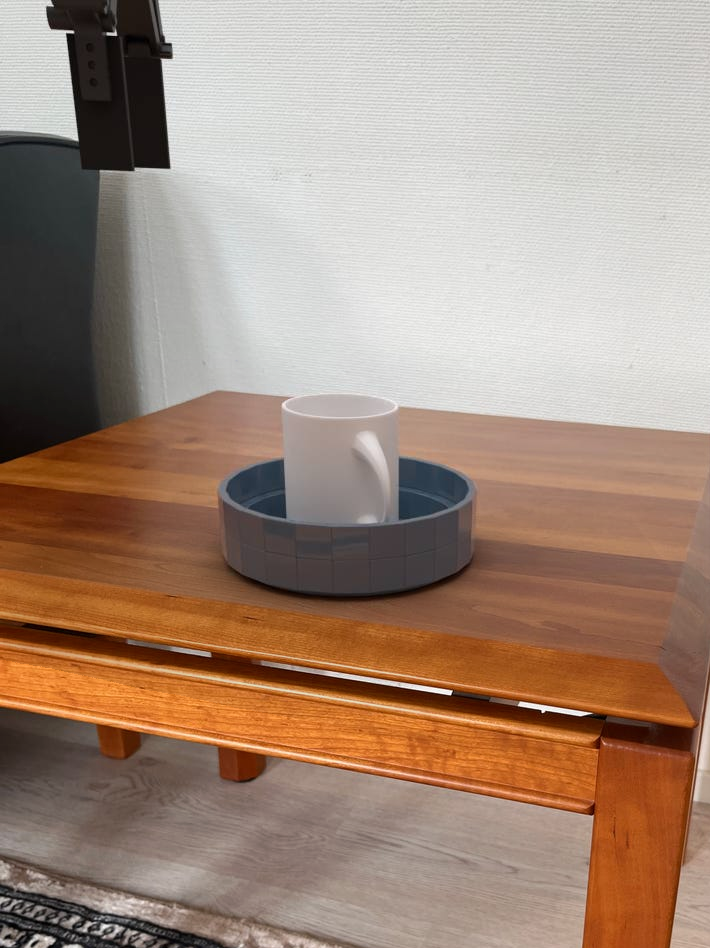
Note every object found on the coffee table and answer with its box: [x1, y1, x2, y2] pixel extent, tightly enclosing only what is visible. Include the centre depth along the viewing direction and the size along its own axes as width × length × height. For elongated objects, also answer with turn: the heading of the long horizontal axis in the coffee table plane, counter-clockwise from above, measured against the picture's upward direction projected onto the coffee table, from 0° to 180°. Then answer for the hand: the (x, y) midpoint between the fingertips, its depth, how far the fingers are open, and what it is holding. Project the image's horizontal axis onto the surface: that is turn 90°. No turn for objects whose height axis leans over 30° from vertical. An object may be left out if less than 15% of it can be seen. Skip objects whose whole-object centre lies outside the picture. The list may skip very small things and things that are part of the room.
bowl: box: [216, 455, 478, 597], centre depth 78 cm, size 19×19×6 cm
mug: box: [281, 392, 400, 524], centre depth 76 cm, size 9×12×11 cm
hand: (131, 170), depth 63 cm, fingers open, 13 cm apart
